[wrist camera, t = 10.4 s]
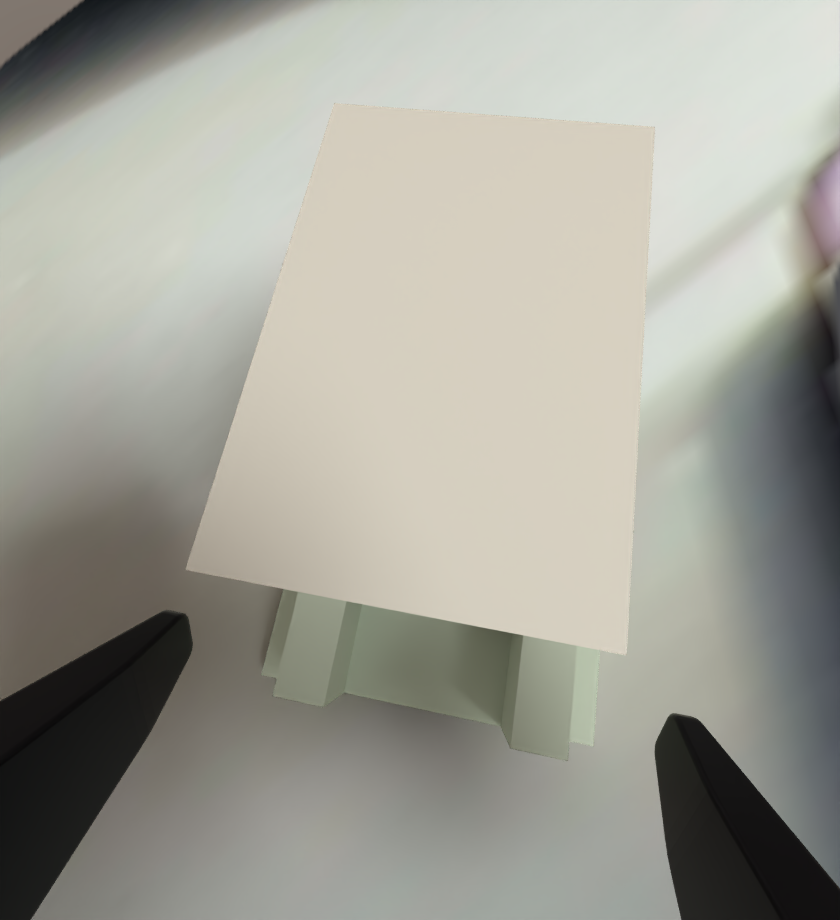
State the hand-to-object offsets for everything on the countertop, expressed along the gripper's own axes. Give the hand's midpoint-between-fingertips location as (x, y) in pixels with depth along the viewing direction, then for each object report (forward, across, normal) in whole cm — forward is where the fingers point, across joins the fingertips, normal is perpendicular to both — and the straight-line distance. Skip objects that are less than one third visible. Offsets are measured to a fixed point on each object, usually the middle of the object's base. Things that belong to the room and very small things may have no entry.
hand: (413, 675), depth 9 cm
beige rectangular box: (+8, 0, +2) cm, 9 cm away
